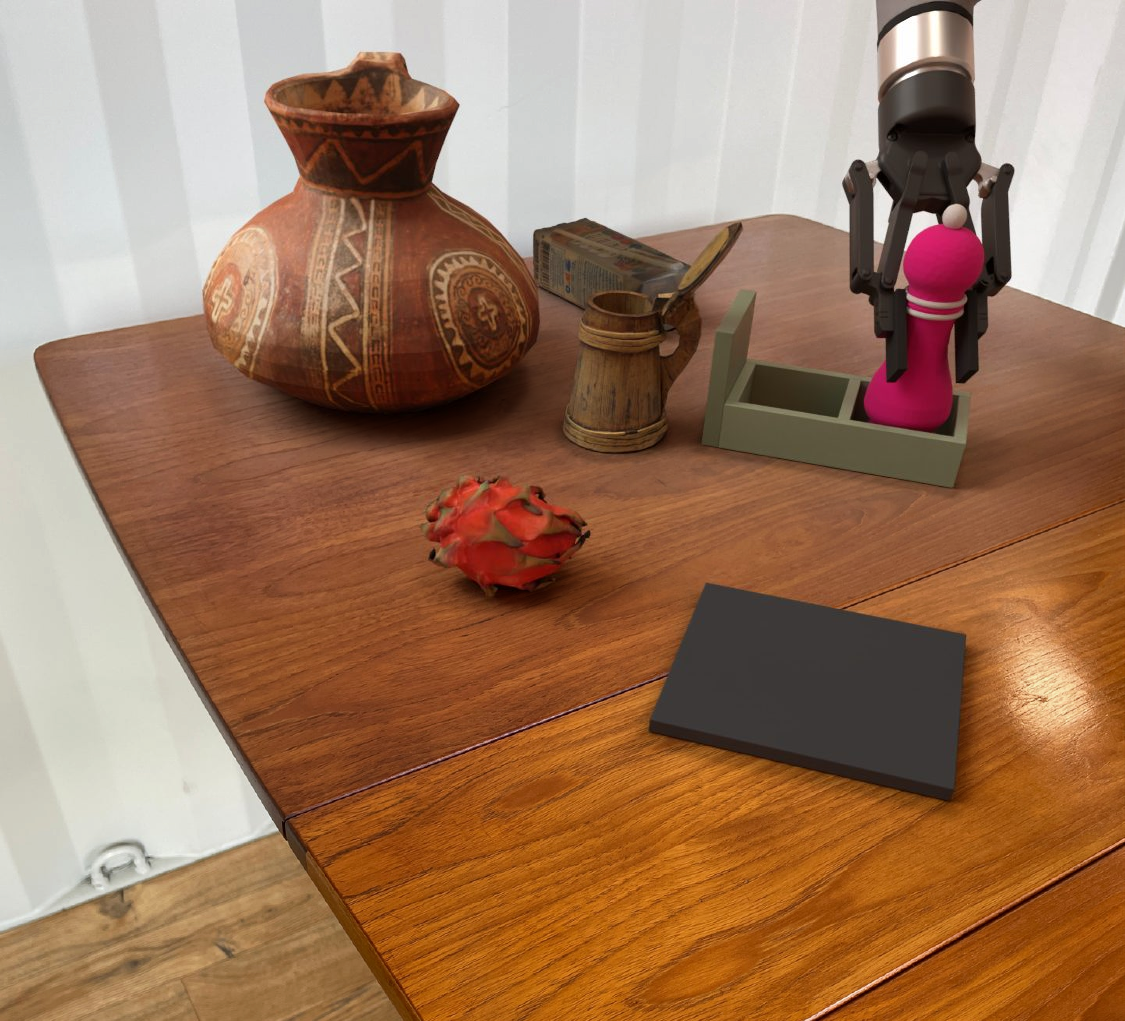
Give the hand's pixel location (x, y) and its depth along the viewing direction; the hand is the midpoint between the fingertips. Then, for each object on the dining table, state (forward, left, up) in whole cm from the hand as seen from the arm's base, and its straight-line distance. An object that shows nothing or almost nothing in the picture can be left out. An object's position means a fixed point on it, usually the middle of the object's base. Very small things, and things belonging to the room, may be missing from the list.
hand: (932, 376), depth 87 cm
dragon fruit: (+26, +28, -8) cm, 39 cm away
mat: (+3, +33, -8) cm, 34 cm away
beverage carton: (+34, -27, -8) cm, 45 cm away
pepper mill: (+1, -3, -8) cm, 9 cm away
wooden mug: (+23, +2, -8) cm, 25 cm away
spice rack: (+7, -3, -8) cm, 11 cm away
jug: (+49, 0, -8) cm, 50 cm away
